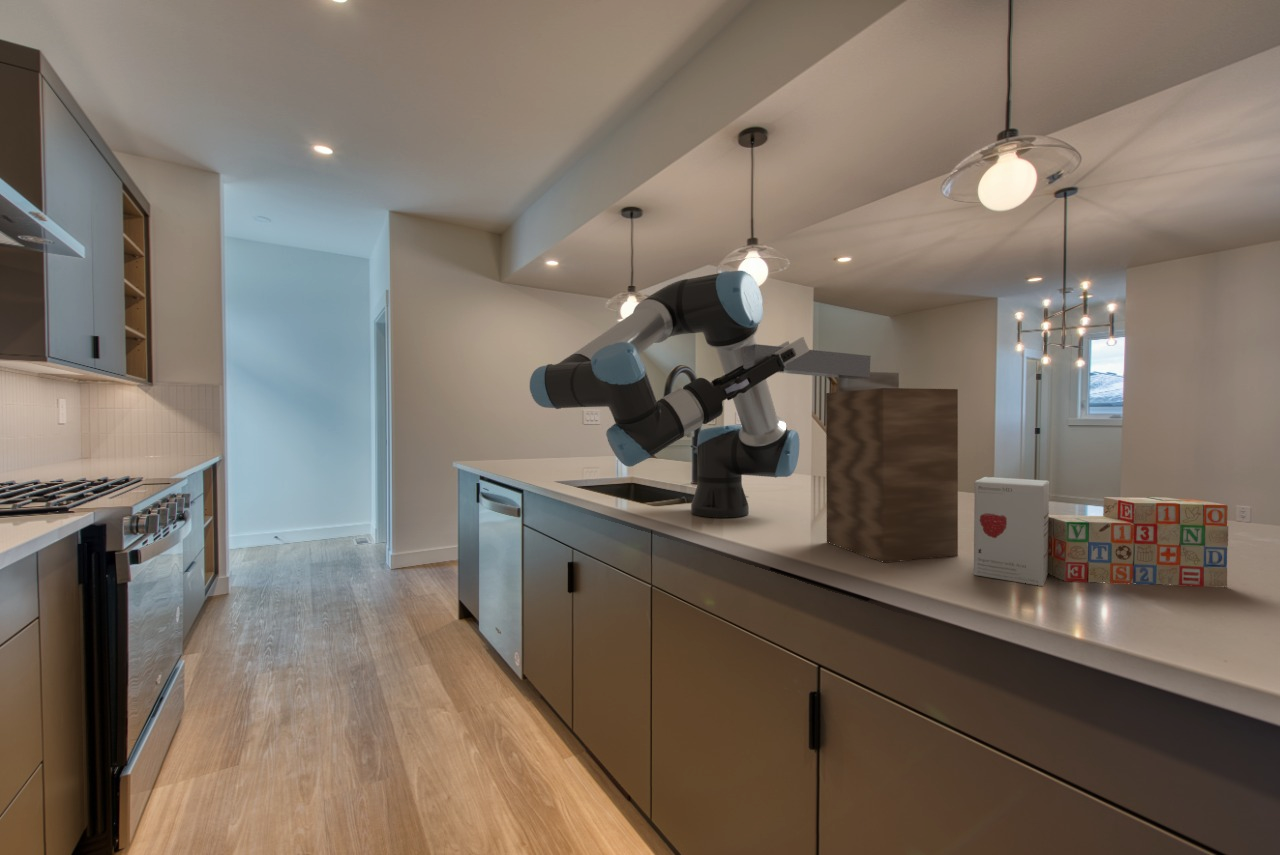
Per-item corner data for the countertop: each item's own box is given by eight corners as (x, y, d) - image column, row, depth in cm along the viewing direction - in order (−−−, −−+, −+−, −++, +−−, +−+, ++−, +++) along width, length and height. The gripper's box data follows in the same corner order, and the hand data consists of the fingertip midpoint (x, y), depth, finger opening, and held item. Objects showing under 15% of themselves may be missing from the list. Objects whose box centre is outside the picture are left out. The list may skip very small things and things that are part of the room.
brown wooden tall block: (826, 542, 107) (826, 373, 106) (892, 537, 111) (892, 374, 111) (883, 562, 91) (883, 364, 91) (957, 555, 96) (957, 366, 95)
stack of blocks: (1065, 583, 80) (1065, 501, 80) (1040, 571, 86) (1040, 495, 86) (1228, 588, 77) (1229, 503, 76) (1190, 576, 83) (1190, 497, 83)
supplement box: (971, 575, 83) (971, 480, 83) (982, 564, 90) (982, 475, 90) (1044, 587, 77) (1044, 484, 77) (1050, 574, 84) (1050, 479, 84)
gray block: (743, 369, 95) (744, 347, 95) (855, 379, 102) (856, 358, 102) (754, 367, 92) (755, 344, 92) (869, 377, 99) (870, 355, 99)
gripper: (684, 425, 99) (780, 369, 105) (724, 425, 83) (836, 358, 89) (665, 390, 98) (764, 335, 104) (702, 383, 82) (817, 318, 88)
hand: (797, 346), depth 96 cm, fingers closed on gray block, 4 cm apart
